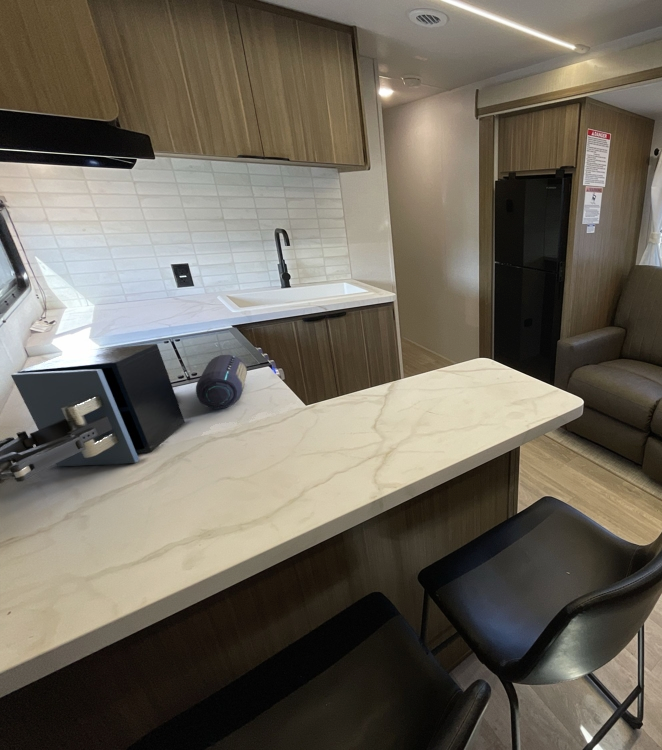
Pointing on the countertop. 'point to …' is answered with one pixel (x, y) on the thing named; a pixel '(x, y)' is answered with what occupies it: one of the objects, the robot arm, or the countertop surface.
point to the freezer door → (78, 412)
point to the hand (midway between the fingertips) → (90, 423)
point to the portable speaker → (221, 382)
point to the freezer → (131, 389)
